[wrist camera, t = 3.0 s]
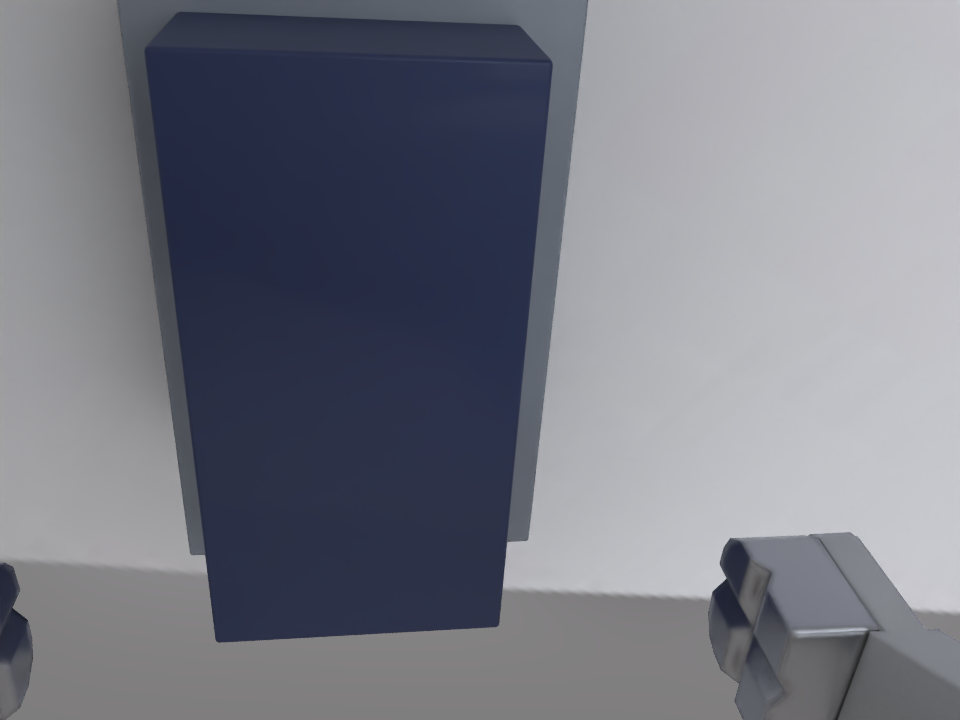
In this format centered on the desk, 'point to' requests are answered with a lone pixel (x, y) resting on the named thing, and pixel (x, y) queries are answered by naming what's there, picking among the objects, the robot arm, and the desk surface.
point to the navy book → (350, 308)
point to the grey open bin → (560, 34)
